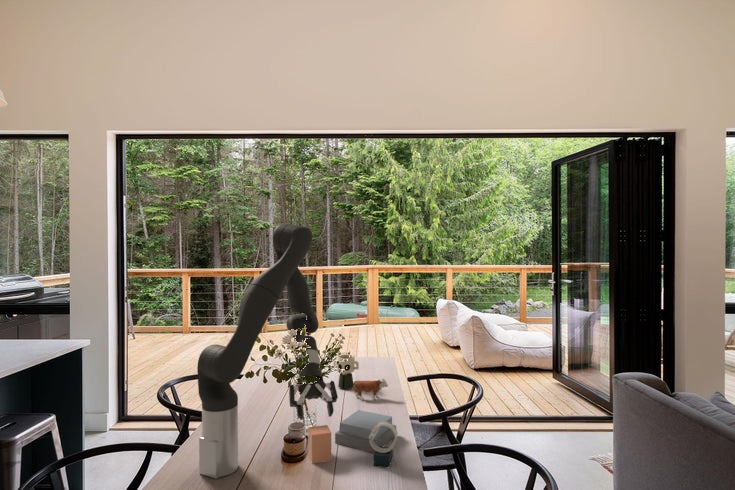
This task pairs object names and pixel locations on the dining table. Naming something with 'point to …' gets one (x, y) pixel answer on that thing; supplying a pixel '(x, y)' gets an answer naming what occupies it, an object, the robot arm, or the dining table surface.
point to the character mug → (346, 371)
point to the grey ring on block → (382, 453)
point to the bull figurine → (369, 387)
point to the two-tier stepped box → (363, 430)
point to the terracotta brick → (319, 444)
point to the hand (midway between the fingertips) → (316, 417)
